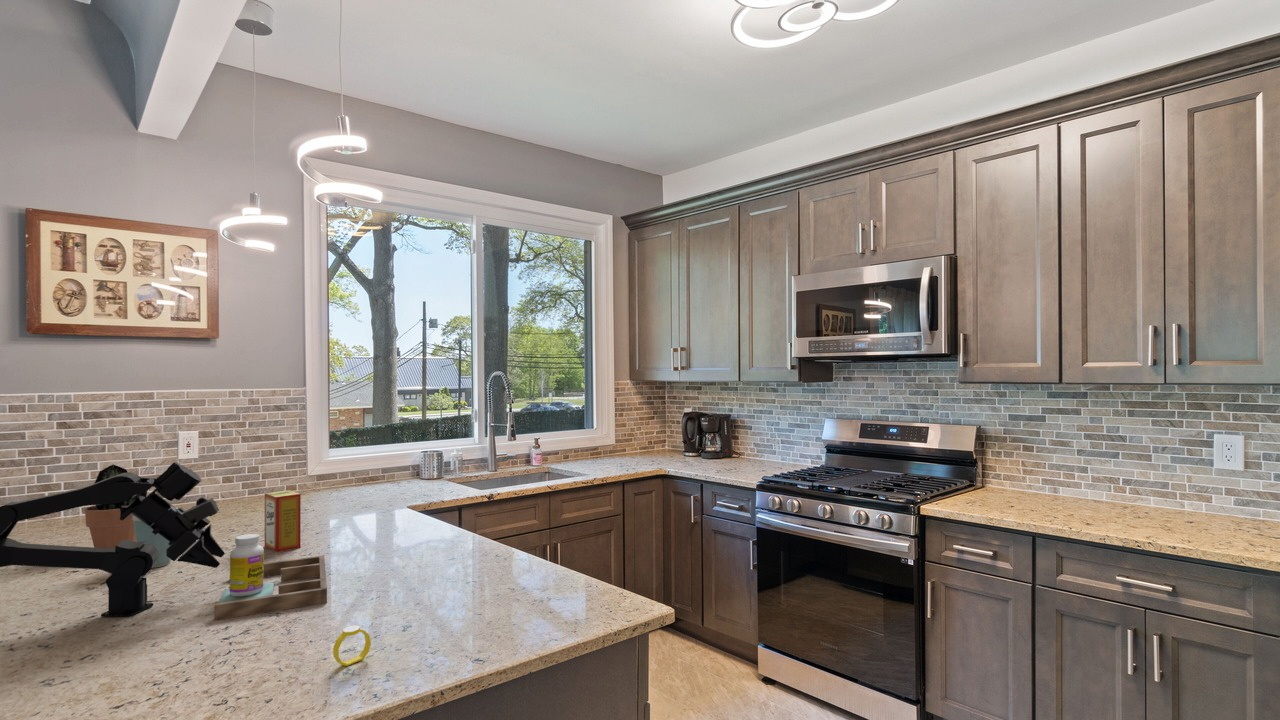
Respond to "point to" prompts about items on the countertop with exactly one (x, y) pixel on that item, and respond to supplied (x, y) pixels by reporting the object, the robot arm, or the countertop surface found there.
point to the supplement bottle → (246, 566)
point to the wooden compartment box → (280, 589)
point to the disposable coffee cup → (152, 541)
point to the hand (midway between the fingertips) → (220, 560)
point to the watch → (348, 632)
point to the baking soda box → (282, 520)
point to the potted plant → (110, 517)
